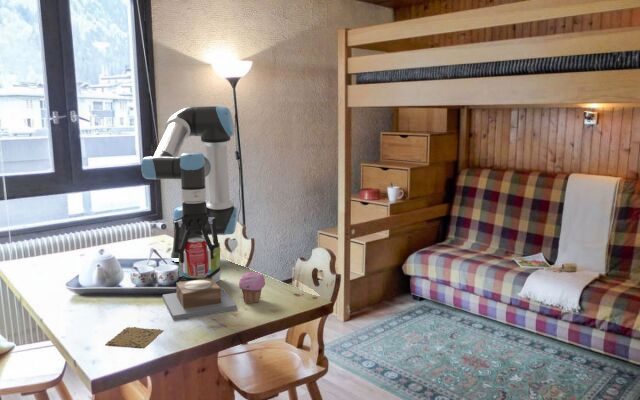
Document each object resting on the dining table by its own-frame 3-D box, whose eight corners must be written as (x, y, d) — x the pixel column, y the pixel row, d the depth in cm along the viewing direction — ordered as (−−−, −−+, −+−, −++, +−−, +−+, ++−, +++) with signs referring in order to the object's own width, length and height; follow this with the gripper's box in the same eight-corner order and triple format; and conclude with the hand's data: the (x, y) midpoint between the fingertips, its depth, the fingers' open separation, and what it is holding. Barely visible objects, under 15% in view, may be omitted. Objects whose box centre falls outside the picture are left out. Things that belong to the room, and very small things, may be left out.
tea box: (205, 292, 188) (203, 252, 185) (178, 290, 190) (176, 250, 187) (221, 279, 202) (220, 241, 200) (196, 277, 204) (195, 240, 202)
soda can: (197, 270, 180) (195, 235, 178) (212, 273, 176) (211, 238, 174) (181, 276, 174) (179, 240, 172) (197, 279, 170) (196, 243, 168)
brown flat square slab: (144, 350, 145) (144, 346, 145) (104, 346, 147) (103, 343, 147) (164, 331, 157) (164, 328, 156) (126, 328, 159) (126, 325, 158)
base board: (162, 298, 182) (162, 294, 181) (220, 290, 190) (220, 286, 190) (173, 320, 164) (173, 315, 164) (236, 309, 172) (236, 305, 172)
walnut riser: (176, 296, 179) (175, 281, 179) (212, 291, 184) (211, 276, 184) (183, 309, 169) (182, 293, 168) (221, 303, 174) (220, 287, 173)
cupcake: (242, 296, 184) (241, 268, 182) (267, 296, 184) (266, 268, 182) (237, 305, 175) (236, 276, 174) (263, 306, 175) (262, 277, 173)
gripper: (164, 205, 163) (167, 277, 167) (227, 200, 172) (230, 269, 176) (160, 201, 170) (164, 271, 174) (221, 197, 178) (224, 263, 182)
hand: (197, 270), depth 175 cm, fingers closed on soda can, 7 cm apart
